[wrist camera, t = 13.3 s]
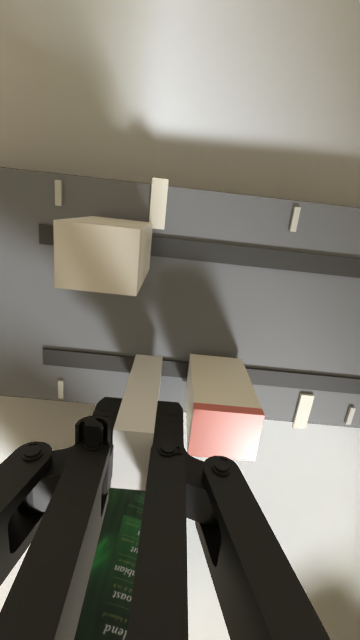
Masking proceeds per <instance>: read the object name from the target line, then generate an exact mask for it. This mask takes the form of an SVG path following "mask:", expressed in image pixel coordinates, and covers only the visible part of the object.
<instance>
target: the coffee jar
mask: <svg viewBox="0 0 360 640" xmlns="http://www.w3.org/2000/svg"><path fill="white" fill-rule="evenodd" d="M144 497H145V490H132V489H120V488H109V495H108V503H107V507H106V511H105V515H104V519H103V523H102V527H101V532H100V536H99V540H98V544H97V548H96V552H95V556H94V560H93V564H92V568H91V572H90V576H89V581H88V585H87V589H86V593H85V597H84V601H83V605H82V609H81V613H80V617H79V621H78V625H77V630H76V634H75V638H74V640H126V639H127V631H128V623H129V615H130V607H131V599H132V591H133V584H134V576H135V568H136V560H137V552H138V544H139V536H140V529H141V521H142V513H143V505H144Z"/></svg>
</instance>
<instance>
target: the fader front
mask: <svg viewBox="0 0 360 640" xmlns="http://www.w3.org/2000/svg"><path fill="white" fill-rule="evenodd" d="M152 228H153V223H152V222H143V221H134V220H125V219H116V218H107V217H98V216H88V217H78V218H68V219H58V220H53V230H54V287H55V288H60V289H70V290H80V291H90V292H99V293H109V294H119V295H129V296H137V294H138V292H139V290H140V288H141V286H142V284H143V282H144V280H145V278H146V275H147V273H148V271H149V268H150V254H151V241H152Z"/></svg>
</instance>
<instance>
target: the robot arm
mask: <svg viewBox="0 0 360 640" xmlns="http://www.w3.org/2000/svg"><path fill="white" fill-rule="evenodd" d="M162 360H163V357H160V356H149V355H138V354H136V356H135V359H134V363H133V366H132V369H131V373H130V376H129V379H128V382H127V386H126V389H125V392H124V396H123V398H115V397H104V398H103V399H101V400H100V401H99V402H98V403H97V406H96V408H95V411H94V413H93V416H88V417H84V418H83V419H81V420H79V421H78V422H77V423H76V425H75V445H74V446H72V447H70V448H67V449H62V450H56V451H52V448H51V447H50V445H48V444H46V443H44V442H30V443H27V444H24V445H22V446H21V447H19V448H18V449H16V450H15V451H14V452H13V453H12V454H11V455H10V456H9V457H8V458H7V459H6V460H4V461H3V462H2V463H1V464H0V586H1V584H2V583H3V581H4V580H5V579H6V577H7V576H8V574H9V573H10V572H11V570H12V569H13V567H14V566H15V565H16V563H17V562H18V560H19V559H20V558H21V556H22V555H23V553H24V552H25V551H26V549H27V548H28V546H29V545H30V547H29V549H28V551H27V553H26V556H25V558H24V560H23V562H22V565H21V567H20V569H19V571H18V574H17V576H16V578H15V580H14V583H13V585H12V587H11V589H10V592H9V594H8V596H7V598H6V601H5V603H4V605H3V607H2V610H1V612H0V640H74V638H75V634H76V630H77V625H78V621H79V617H80V613H81V609H82V605H83V601H84V597H85V593H86V589H87V585H88V581H89V576H90V572H91V568H92V564H93V560H94V556H95V552H96V548H97V544H98V540H99V536H100V532H101V527H102V523H103V519H104V515H105V511H106V507H107V503H108V495H109V486H110V482H111V488H120V489H132V490H145V497H144V505H143V513H142V521H141V529H140V536H139V544H138V552H137V560H136V568H135V576H134V584H133V591H132V599H131V607H130V615H129V623H128V631H127V639H126V640H188V599H187V536H186V517H187V518H189V519H192V520H194V521H195V524H196V528H197V531H198V535H199V538H200V541H201V544H202V548H203V551H204V554H205V558H206V561H207V564H208V567H209V571H210V574H211V577H212V580H213V584H214V587H215V590H216V593H217V597H218V600H219V603H220V607H221V610H222V613H223V616H224V620H225V623H226V626H227V629H228V633H229V636H230V639H231V640H330V638H329V636H328V634H327V632H326V631H325V629H324V627H323V625H322V623H321V621H320V619H319V617H318V616H317V614H316V612H315V610H314V608H313V606H312V604H311V602H310V601H309V599H308V597H307V595H306V593H305V591H304V589H303V587H302V585H301V584H300V582H299V580H298V578H297V576H296V574H295V572H294V570H293V569H292V567H291V565H290V563H289V561H288V559H287V557H286V555H285V554H284V552H283V550H282V548H281V546H280V544H279V542H278V540H277V539H276V537H275V535H274V533H273V531H272V529H271V527H270V525H269V523H268V522H267V520H266V518H265V516H264V514H263V512H262V510H261V508H260V507H259V505H258V503H257V501H256V499H255V497H254V495H253V493H252V492H251V490H250V488H249V486H248V484H247V482H246V480H245V478H244V476H243V475H242V473H241V471H240V469H239V467H238V466H237V464H236V463H235V462H234V461H232V460H231V459H229V458H227V457H224V456H212V457H209V458H208V459H206V460H205V462H203V461H200V460H198V459H195V458H193V457H192V456H190V455H189V454H188V453H187V452H186V450H185V449H184V444H183V408H182V407H181V405H180V404H179V402H169V401H159V392H160V381H161V371H162Z"/></svg>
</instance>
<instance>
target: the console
mask: <svg viewBox="0 0 360 640" xmlns="http://www.w3.org/2000/svg"><path fill="white" fill-rule="evenodd" d="M168 182H169V179H162V178H153V177H152V184H145V183H136V182H128V181H119V180H110V179H101V178H92V177H84V176H75V175H66V174H57V173H49V172H40V171H31V170H22V169H13V168H5V167H0V395H1V396H12V397H23V398H34V399H46V400H57V401H68V402H79V403H90V404H97V403H98V402H99V401H100V400H101V399H103V398H104V397H115V398H123V396H124V392H125V389H126V386H127V382H128V379H129V376H130V373H131V369H132V366H133V363H134V359H135V356H136V354H138V355H149V356H160V357H163V360H162V371H161V381H160V392H159V401H169V402H179V404H180V405H181V407H182V408H183V412H186V383H187V375H188V367H189V359H190V354H198V355H208V356H218V357H229V358H239V359H242V361H243V363H244V366H245V368H246V371H247V373H248V375H249V378H250V380H251V383H252V385H253V388H254V390H255V393H256V395H257V397H258V400H259V402H260V405H261V407H262V410H263V412H264V415H265V417H264V419H267V420H278V421H289V422H293V425H292V426H293V428H301V429H306V426H307V423H311V424H322V425H333V426H344V427H355V428H360V208H356V207H347V206H338V205H330V204H321V203H312V202H303V201H295V200H286V199H277V198H268V197H259V196H251V195H242V194H233V193H224V192H215V191H207V190H198V189H189V188H180V187H172V186H168ZM88 216H98V217H107V218H116V219H125V220H134V221H143V222H152V223H153V228H152V241H151V254H150V268H149V271H148V273H147V275H146V278H145V280H144V282H143V284H142V286H141V288H140V290H139V292H138V294H137V296H129V295H119V294H109V293H99V292H90V291H80V290H70V289H60V288H55V287H54V230H53V220H58V219H68V218H78V217H88Z"/></svg>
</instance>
